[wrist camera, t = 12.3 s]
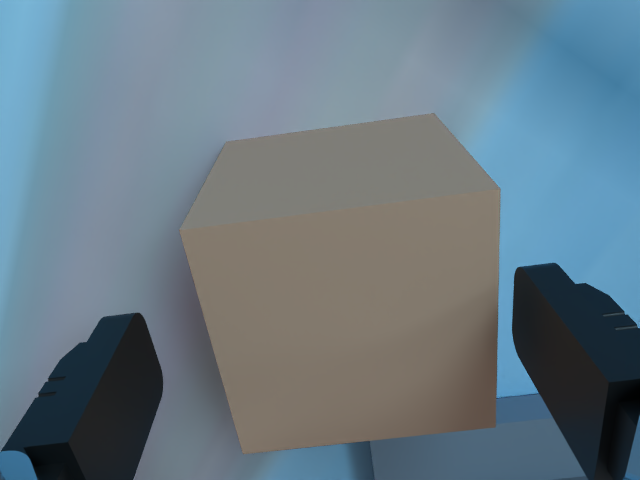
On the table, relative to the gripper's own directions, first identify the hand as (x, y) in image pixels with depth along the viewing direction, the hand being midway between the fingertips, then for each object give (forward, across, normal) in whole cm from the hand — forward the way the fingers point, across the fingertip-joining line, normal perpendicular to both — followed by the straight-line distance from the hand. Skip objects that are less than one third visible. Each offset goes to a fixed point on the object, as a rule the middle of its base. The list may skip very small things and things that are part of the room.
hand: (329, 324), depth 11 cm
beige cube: (+6, -1, 0) cm, 6 cm away
